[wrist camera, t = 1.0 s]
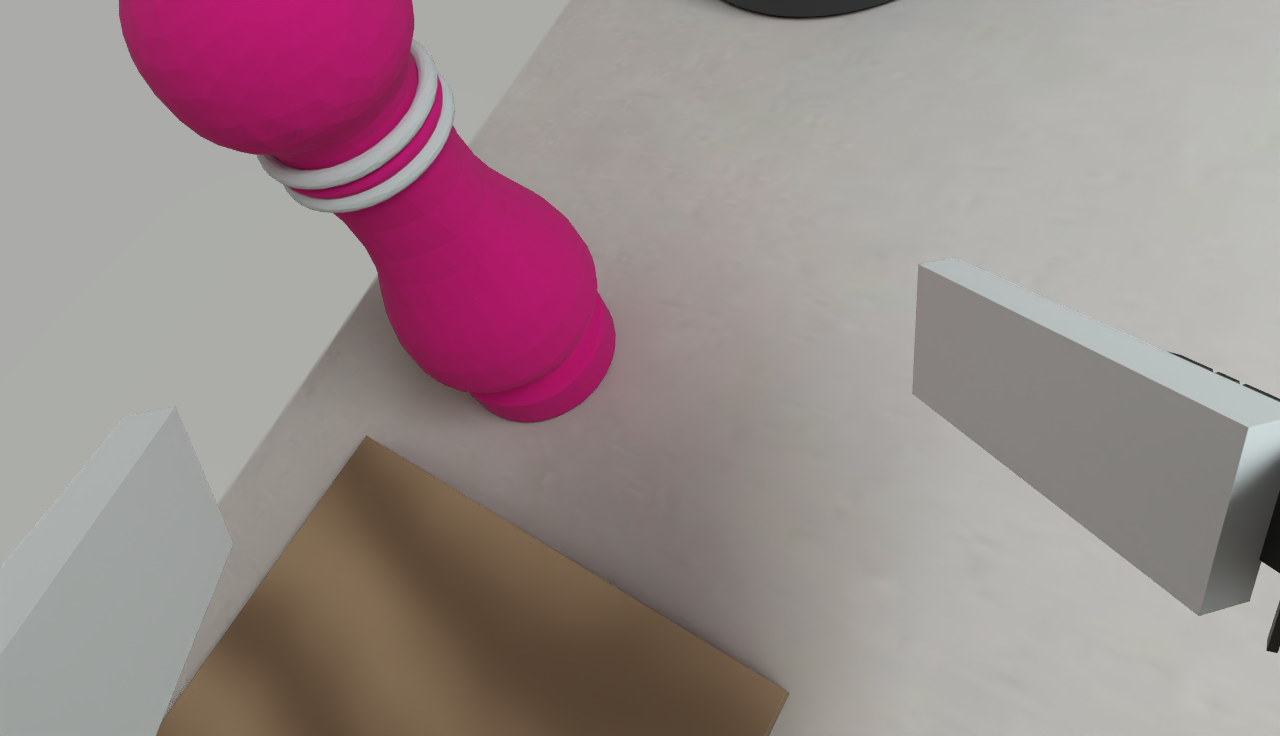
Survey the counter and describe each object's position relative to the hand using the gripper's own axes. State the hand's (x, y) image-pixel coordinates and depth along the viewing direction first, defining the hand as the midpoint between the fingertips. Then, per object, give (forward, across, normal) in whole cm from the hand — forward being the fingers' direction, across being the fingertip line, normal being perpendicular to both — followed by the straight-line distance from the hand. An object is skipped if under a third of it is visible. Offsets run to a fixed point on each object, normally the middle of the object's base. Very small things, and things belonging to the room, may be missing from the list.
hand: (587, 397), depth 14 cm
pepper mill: (+16, 0, -6) cm, 17 cm away
